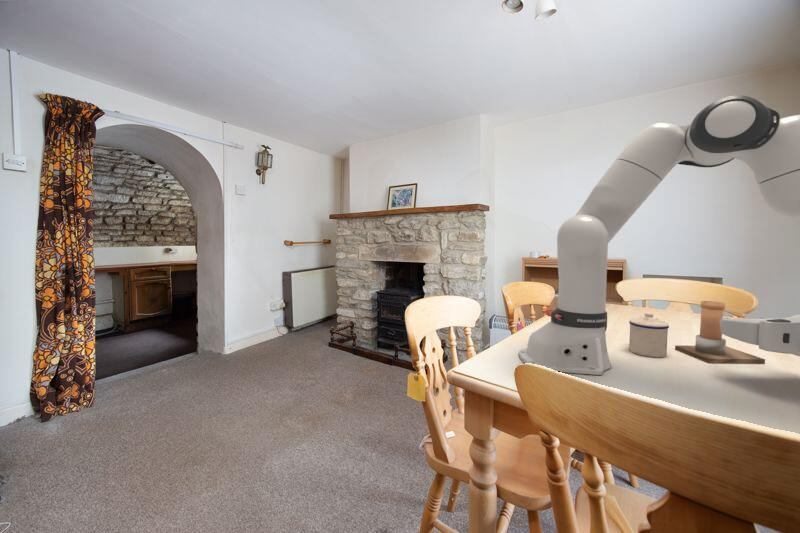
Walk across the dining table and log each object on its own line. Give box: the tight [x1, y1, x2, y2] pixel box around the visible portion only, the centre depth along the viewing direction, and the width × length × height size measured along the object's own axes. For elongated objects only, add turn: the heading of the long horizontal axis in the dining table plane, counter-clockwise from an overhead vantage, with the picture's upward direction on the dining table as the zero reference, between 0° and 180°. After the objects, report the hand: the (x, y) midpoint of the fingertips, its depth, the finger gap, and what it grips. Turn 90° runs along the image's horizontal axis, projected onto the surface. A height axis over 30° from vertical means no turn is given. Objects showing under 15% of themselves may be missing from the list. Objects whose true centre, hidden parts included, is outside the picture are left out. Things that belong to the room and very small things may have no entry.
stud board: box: [674, 334, 766, 365], centre depth 89 cm, size 14×11×5 cm
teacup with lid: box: [628, 312, 670, 358], centre depth 93 cm, size 12×9×12 cm
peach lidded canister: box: [699, 300, 726, 340], centre depth 88 cm, size 5×5×10 cm
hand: (741, 320), depth 80 cm, fingers open, 8 cm apart
